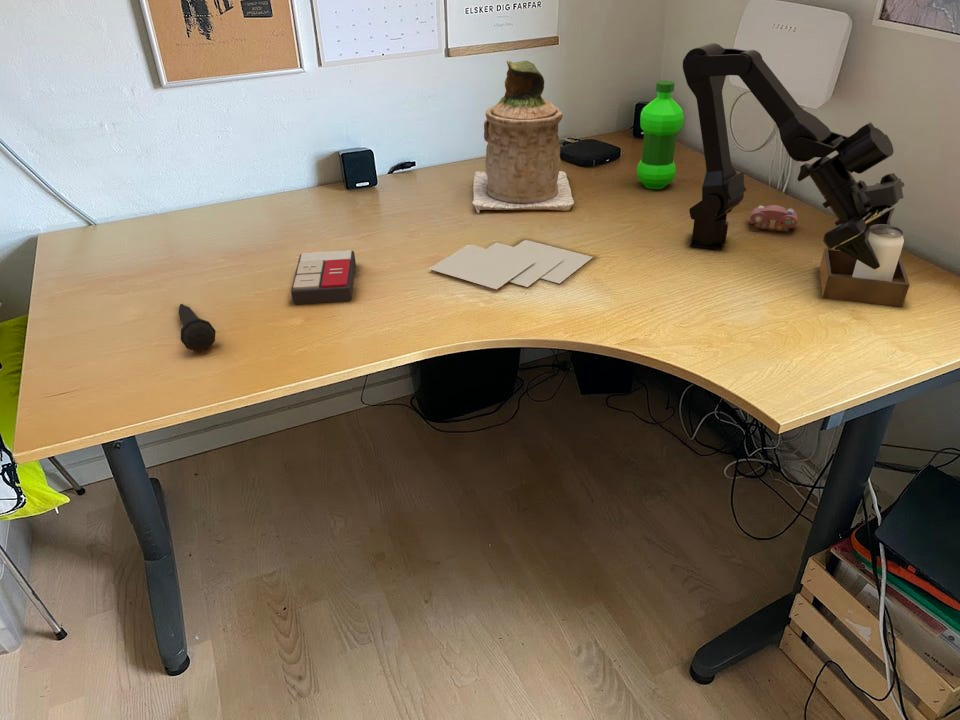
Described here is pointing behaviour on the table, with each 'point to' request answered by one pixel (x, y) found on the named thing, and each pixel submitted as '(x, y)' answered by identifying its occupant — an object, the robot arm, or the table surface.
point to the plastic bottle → (659, 138)
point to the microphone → (195, 330)
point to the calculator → (324, 277)
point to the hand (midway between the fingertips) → (885, 260)
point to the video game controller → (774, 217)
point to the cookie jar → (522, 148)
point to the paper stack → (511, 264)
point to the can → (882, 252)
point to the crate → (860, 282)
